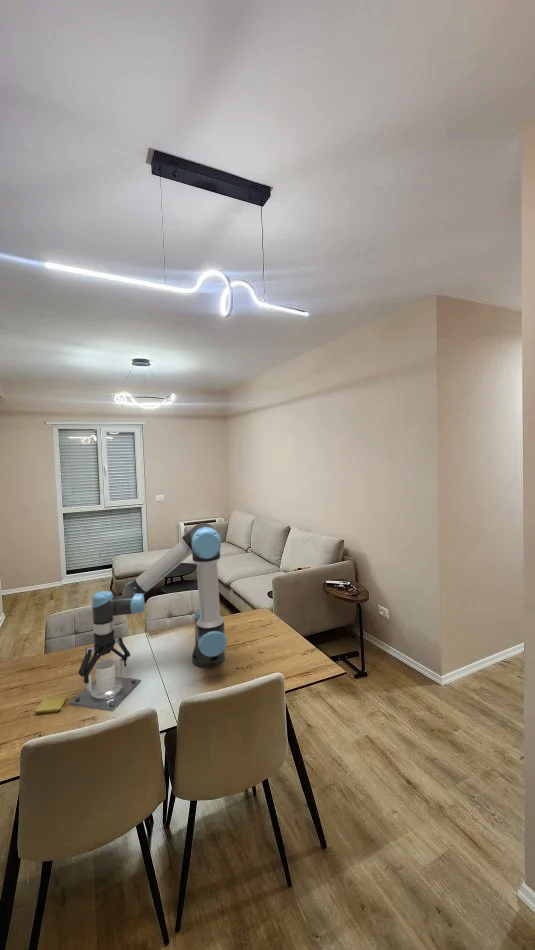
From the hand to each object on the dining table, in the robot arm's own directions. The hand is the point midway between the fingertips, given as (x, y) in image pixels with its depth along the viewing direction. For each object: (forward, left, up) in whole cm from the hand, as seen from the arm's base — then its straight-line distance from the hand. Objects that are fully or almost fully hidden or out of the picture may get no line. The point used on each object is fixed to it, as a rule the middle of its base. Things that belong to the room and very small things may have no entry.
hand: (106, 682), depth 158 cm
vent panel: (0, 0, -4) cm, 4 cm away
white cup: (0, 0, -2) cm, 2 cm away
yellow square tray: (+15, +12, -5) cm, 20 cm away
